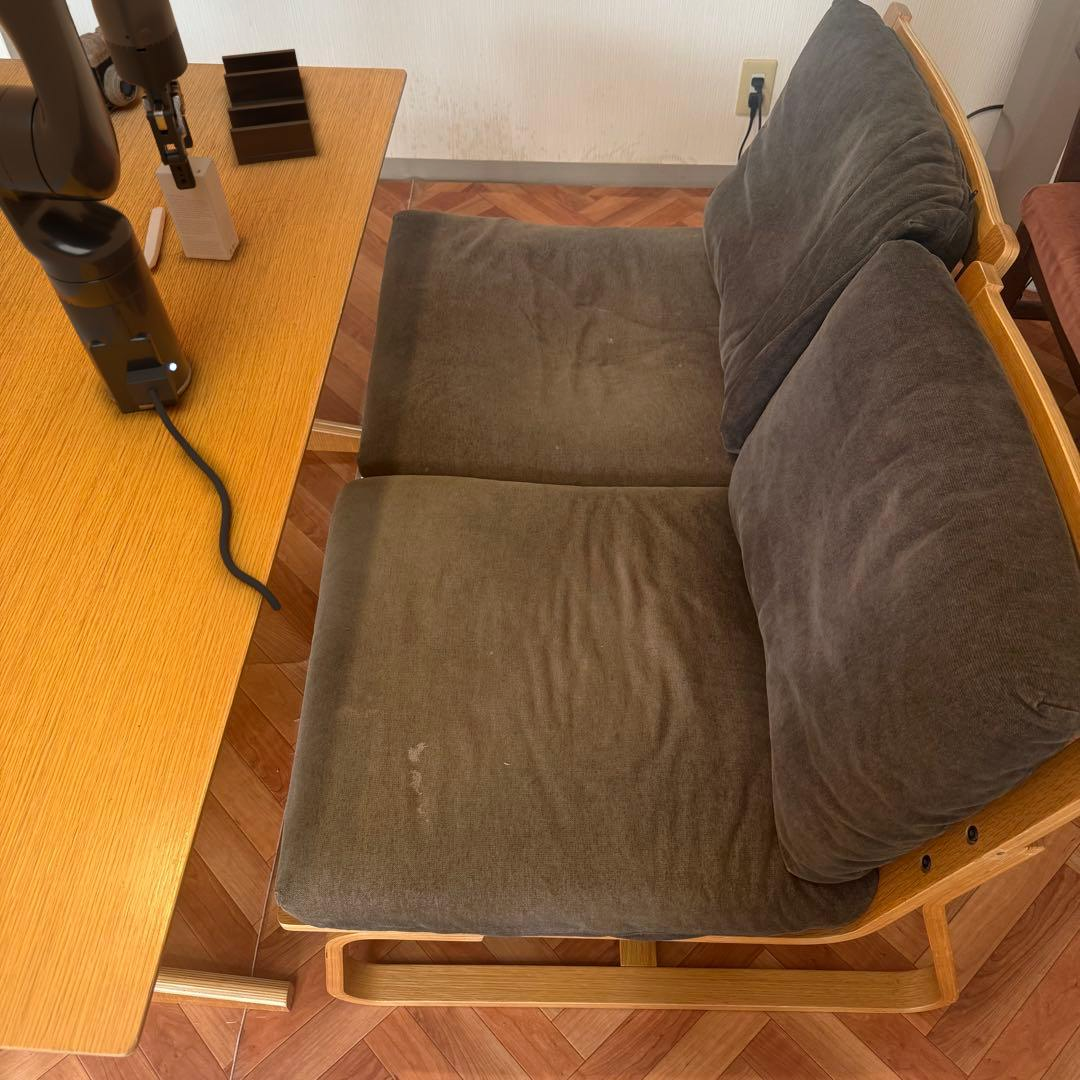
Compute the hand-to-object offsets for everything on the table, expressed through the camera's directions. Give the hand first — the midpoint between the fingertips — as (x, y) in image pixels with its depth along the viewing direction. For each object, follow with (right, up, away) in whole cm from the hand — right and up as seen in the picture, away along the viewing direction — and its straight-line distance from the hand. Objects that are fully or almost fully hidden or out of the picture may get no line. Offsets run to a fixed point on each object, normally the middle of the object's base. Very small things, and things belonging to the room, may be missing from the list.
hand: (186, 167), depth 107 cm
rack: (+2, +19, +28) cm, 34 cm away
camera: (-23, +21, +29) cm, 43 cm away
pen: (-8, -6, +10) cm, 14 cm away
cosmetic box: (0, -7, +9) cm, 12 cm away
